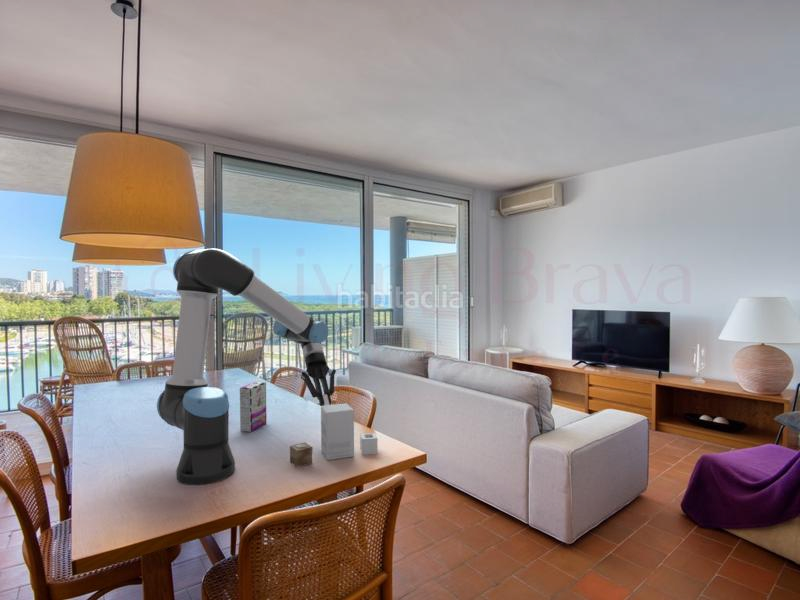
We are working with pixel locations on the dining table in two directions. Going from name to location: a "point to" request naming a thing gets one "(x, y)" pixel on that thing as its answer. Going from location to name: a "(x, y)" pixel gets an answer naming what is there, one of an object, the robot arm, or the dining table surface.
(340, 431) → the supplement box
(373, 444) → the pale grey block
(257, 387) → the candy bar box
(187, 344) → the robot arm
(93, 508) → the dining table surface
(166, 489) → the dining table surface
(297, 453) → the walnut block
